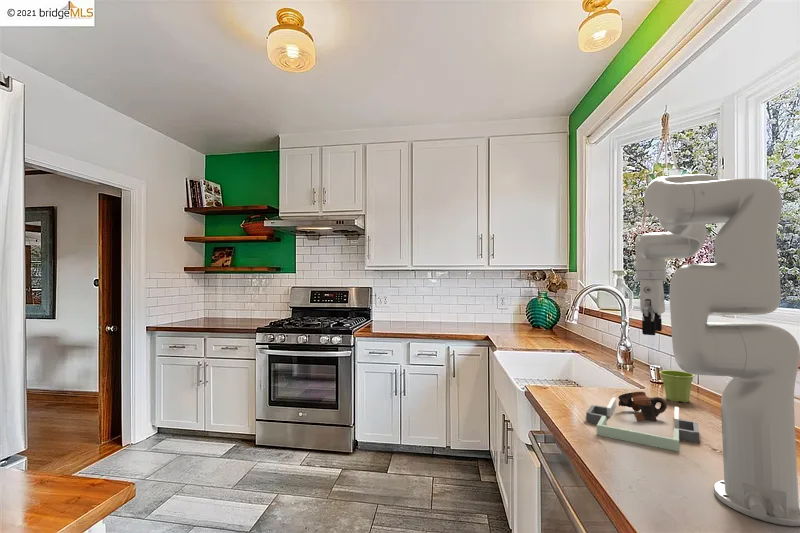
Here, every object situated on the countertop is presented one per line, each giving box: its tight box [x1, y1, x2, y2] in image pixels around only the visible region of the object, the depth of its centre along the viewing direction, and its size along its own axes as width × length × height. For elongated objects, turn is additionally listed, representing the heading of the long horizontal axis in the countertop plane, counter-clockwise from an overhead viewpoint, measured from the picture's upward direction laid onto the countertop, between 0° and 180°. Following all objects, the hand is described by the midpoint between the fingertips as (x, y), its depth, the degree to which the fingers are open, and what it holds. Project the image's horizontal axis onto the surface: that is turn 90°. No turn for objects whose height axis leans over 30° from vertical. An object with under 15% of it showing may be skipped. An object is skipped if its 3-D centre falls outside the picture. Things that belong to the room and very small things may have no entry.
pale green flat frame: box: [585, 396, 701, 453], centre depth 105 cm, size 28×25×2 cm
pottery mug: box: [617, 391, 668, 423], centre depth 111 cm, size 12×10×8 cm
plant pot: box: [659, 369, 695, 403], centre depth 126 cm, size 9×9×9 cm
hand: (652, 332), depth 116 cm, fingers open, 9 cm apart
